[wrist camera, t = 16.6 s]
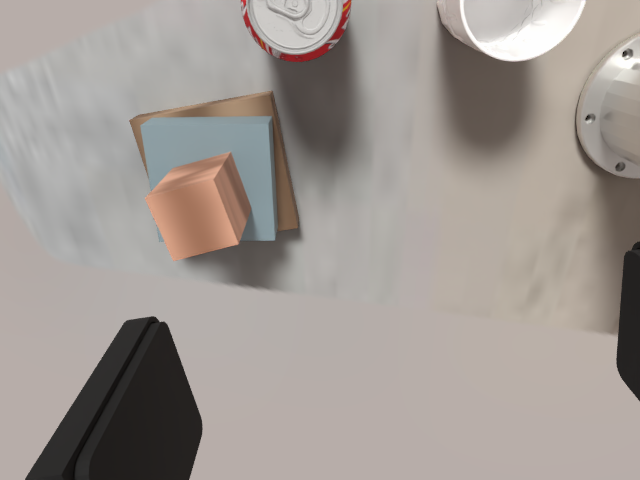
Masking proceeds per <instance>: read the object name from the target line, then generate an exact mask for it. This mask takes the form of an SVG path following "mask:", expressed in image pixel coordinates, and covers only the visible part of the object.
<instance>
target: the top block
mask: <svg viewBox="0 0 640 480" xmlns="http://www.w3.org/2000/svg"><path fill="white" fill-rule="evenodd" d="M140 127H141V133H142V139H143V145H144V152H145V158H146V164H147V170H148V176H149V182H150V188H151V191H152V190H153V189H154V188H155V187H156V186H157V185H158V184H159V182H160V181H161V180H162V179H163V178H164V177H165V176H166V175H167V174H168V173H169V172H170V171H171V169H172V168H175V167H178V166H182V165H186V164H189V163H193V162H196V161H200V160H203V159H207V158H210V157H214V156H217V155H221V154H224V153H228V152H231V153H232V156H233V159H234V161H235V164H236V167H237V170H238V172H239V175H240V178H241V181H242V183H243V186H244V189H245V192H246V194H247V197H248V200H249V202H250V205H251V211H250V214H249V217H248V220H247V222H246V225H245V228H244V231H243V233H242V236H241V239H240V241H275V239H276V234H277V229H278V216H277V198H276V180H275V161H274V143H273V125H272V116H234V117H159V118H151V119H149V120H148V121H146V122H145V123H143V124H142V125H140ZM156 225H157V224H156ZM157 231H158V237H159V242H165V241H164V239H163V237H162V235H161V233H160V230H159V228H158V226H157Z"/></svg>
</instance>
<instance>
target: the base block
mask: <svg viewBox="0 0 640 480" xmlns="http://www.w3.org/2000/svg"><path fill="white" fill-rule="evenodd" d="M234 116H272V125H273V143H274V161H275V180H276V198H277V216H278V229H277V231H282V230H289V229H295V228H298V223H299V216H298V211H297V206H296V201H295V197H294V192H293V187H292V182H291V177H290V173H289V168H288V163H287V158H286V153H285V149H284V144H283V139H282V134H281V129H280V124H279V120H278V115H277V110H276V105H275V100H274V96H273V91H268V92H262V93H257V94H251V95H246V96H240V97H235V98H229V99H224V100H218V101H213V102H207V103H202V104H196V105H191V106H185V107H180V108H174V109H169V110H164V111H158V112H153V113H147V114H142V115H138V116H136V117H134V118H133V119H131V120H129V121H130V124H131V127H132V130H133V133H134V136H135V139H136V142H137V145H138V148H139V151H140V154H141V157H142V160H143V163H144V166H145V169H146V172H147V175H148V170H147V164H146V158H145V152H144V145H143V139H142V133H141V127H140V125H142V124H143V123H145V122H146V121H148V120H149V119H151V118H159V117H234ZM148 178H149V176H148Z"/></svg>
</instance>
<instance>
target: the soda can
mask: <svg viewBox="0 0 640 480" xmlns="http://www.w3.org/2000/svg"><path fill="white" fill-rule="evenodd" d="M241 9H242V14H243V19H244V21H245V24H246V27H247V29H248V31H249V33H250V34H251V36H252V37H253V39H254V40H255V41H256V43H257V44H258V45H259V46H260V47H261V48H262V49H264V50H265V51H266V52H268V53H269V54H271V55H273V56H275V57H276V58H279V59H282V60H286V61H292V62H303V61H309V60H312V59H315V58H318V57H319V56H321V55H323V54H325V53H326V52H328V51H329V50H330V49H331V48H332V47H333V46H334V45H335V44H336V43H337V42H338V41H339V39H340V38H341V36H342V35H343V33H344V31H345V29H346V27H347V24H348V21H349V18H350V12H351V0H241Z"/></svg>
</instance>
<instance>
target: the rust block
mask: <svg viewBox="0 0 640 480" xmlns="http://www.w3.org/2000/svg"><path fill="white" fill-rule="evenodd" d="M145 200H146V202H147V204H148V206H149V209H150V211H151V213H152V215H153V217H154V220H155V222H156V224H157V226H158V228H159V230H160V233H161V235H162V237H163V239H164V241H165V244H166V246H167V248H168V250H169V252H170V255H171V257H172V259H173V261H176V260H180V259H183V258H187V257H191V256H195V255H199V254H203V253H207V252H211V251H214V250H218V249H222V248H226V247H230V246H234V245H238V244H239V242H240V239H241V236H242V233H243V231H244V228H245V225H246V222H247V220H248V217H249V214H250V211H251V205H250V202H249V200H248V197H247V194H246V192H245V189H244V186H243V183H242V181H241V178H240V175H239V172H238V170H237V167H236V164H235V161H234V159H233V156H232V153H231V152H228V153H224V154H221V155H217V156H214V157H210V158H207V159H203V160H200V161H196V162H193V163H189V164H186V165H182V166H178V167H175V168H172V169H171V171H170V172H169V173H168V174H167V175H166V176H165V177H164V178H163V179H162V180H161V181H160V182H159V184H158V185H157V186H156V187H155V188H154V189H153V190H152V191H151V192H150V193H149V194H148V196H147V197H146V198H145Z"/></svg>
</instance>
